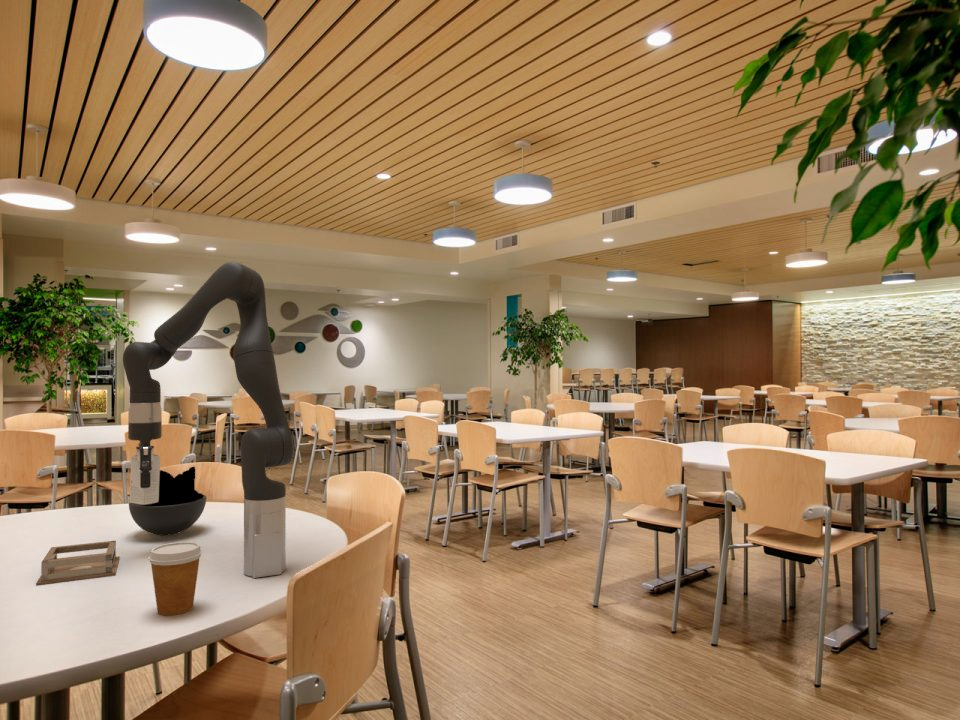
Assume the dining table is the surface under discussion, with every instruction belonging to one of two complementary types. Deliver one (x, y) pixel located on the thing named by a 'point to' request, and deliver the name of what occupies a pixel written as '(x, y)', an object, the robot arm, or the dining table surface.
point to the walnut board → (81, 566)
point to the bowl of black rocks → (171, 505)
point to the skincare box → (136, 492)
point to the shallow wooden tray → (78, 560)
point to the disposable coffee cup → (175, 576)
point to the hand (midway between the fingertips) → (144, 485)
